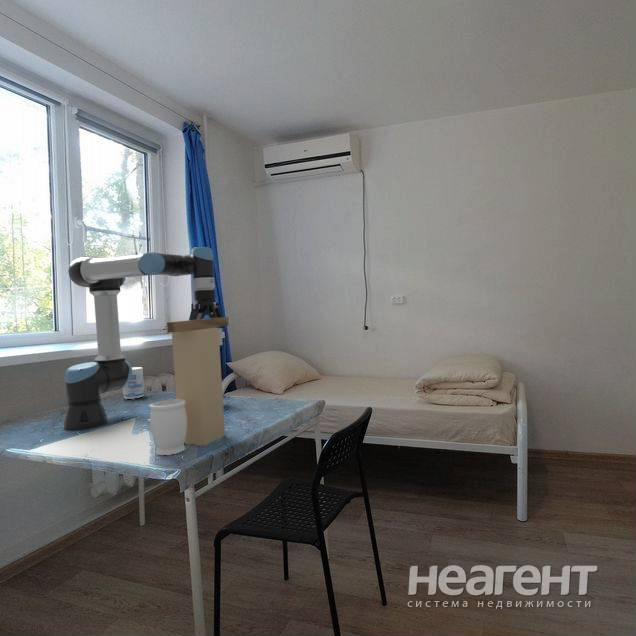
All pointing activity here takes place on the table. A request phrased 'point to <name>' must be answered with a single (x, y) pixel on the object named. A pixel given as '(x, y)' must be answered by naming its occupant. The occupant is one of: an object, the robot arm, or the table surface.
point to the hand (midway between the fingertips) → (208, 347)
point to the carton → (199, 383)
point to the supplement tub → (135, 384)
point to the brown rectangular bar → (196, 324)
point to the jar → (168, 426)
